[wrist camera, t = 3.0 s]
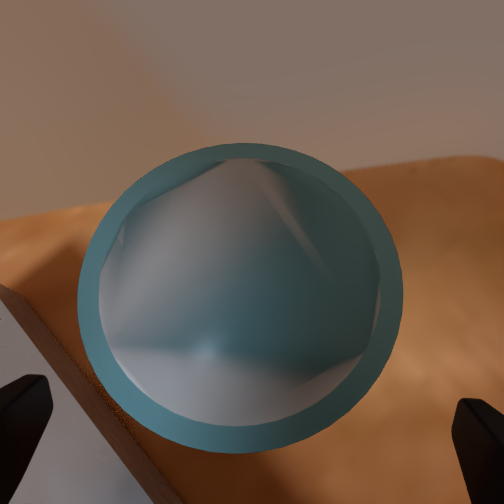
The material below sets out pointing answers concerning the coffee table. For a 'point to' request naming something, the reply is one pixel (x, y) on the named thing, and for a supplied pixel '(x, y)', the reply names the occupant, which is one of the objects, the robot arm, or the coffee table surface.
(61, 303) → the coffee table surface
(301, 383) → the plug
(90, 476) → the housing
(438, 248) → the coffee table surface
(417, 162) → the coffee table surface
